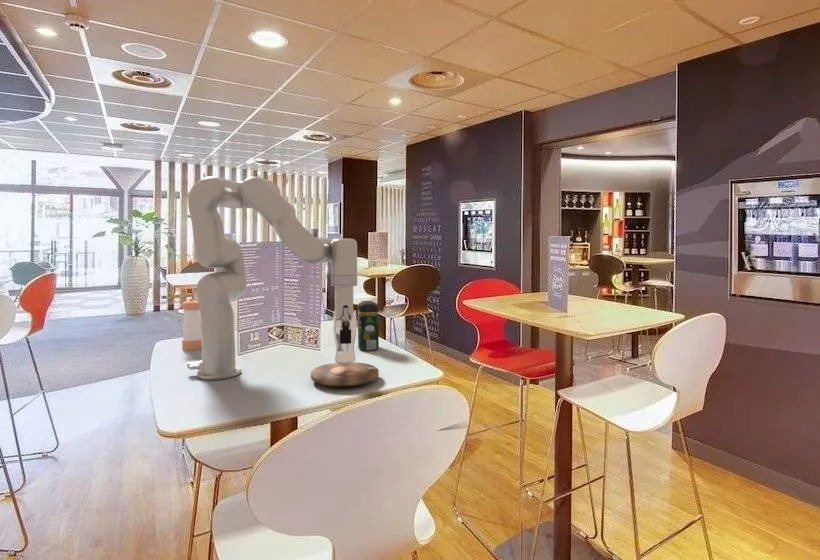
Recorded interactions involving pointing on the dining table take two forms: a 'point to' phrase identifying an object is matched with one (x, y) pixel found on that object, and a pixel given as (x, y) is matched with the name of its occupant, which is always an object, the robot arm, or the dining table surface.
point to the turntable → (344, 374)
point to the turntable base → (344, 386)
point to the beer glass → (344, 350)
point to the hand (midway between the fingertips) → (344, 340)
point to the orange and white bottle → (191, 325)
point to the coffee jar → (368, 326)
